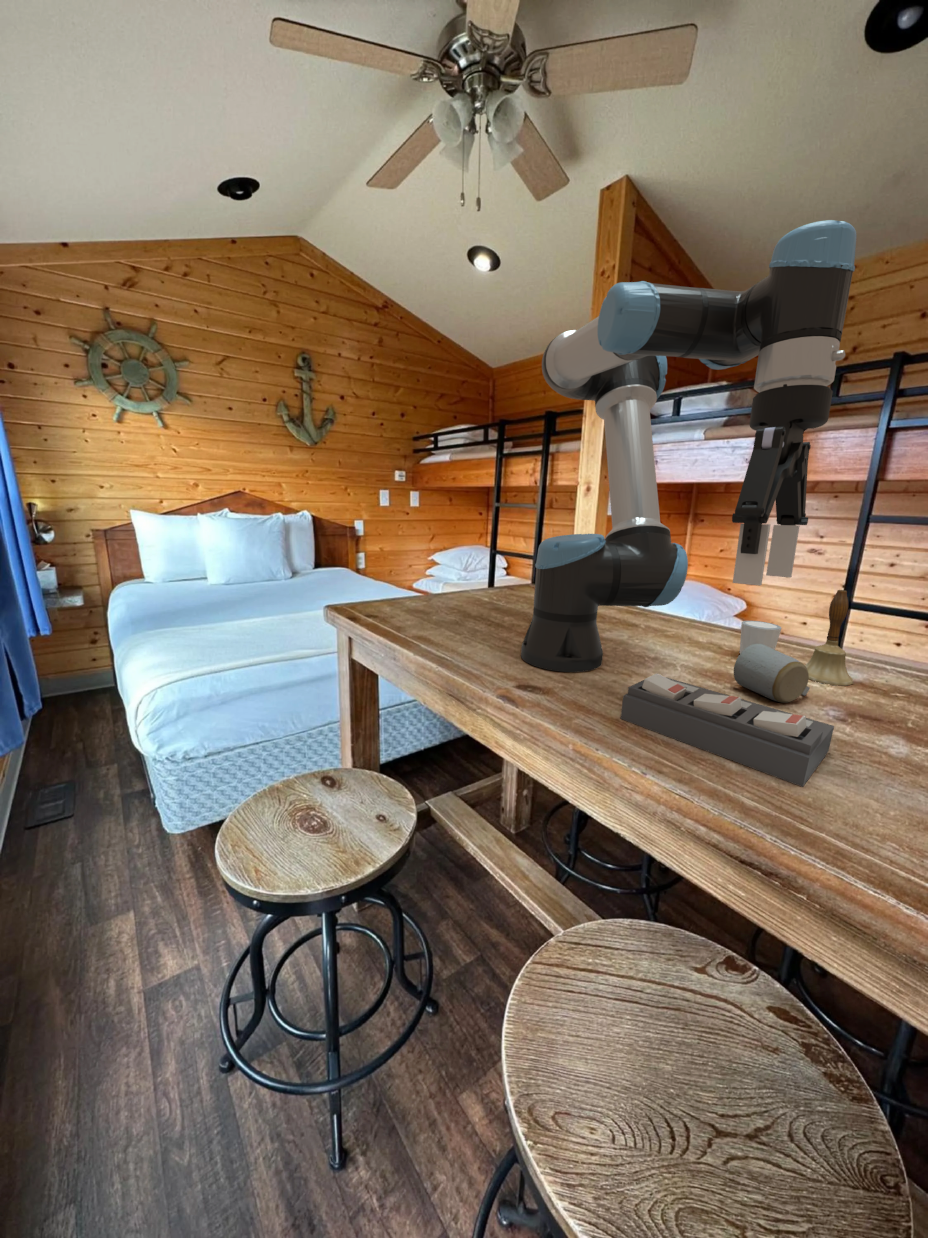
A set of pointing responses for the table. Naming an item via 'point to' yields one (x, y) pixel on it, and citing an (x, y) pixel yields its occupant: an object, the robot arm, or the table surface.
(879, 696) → the table surface
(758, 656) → the ceramic mug
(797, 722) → the rocker
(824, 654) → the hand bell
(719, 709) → the middle rocker
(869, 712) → the table surface
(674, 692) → the rocker
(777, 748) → the rocker switch box
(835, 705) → the table surface
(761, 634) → the white cylinder
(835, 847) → the table surface
